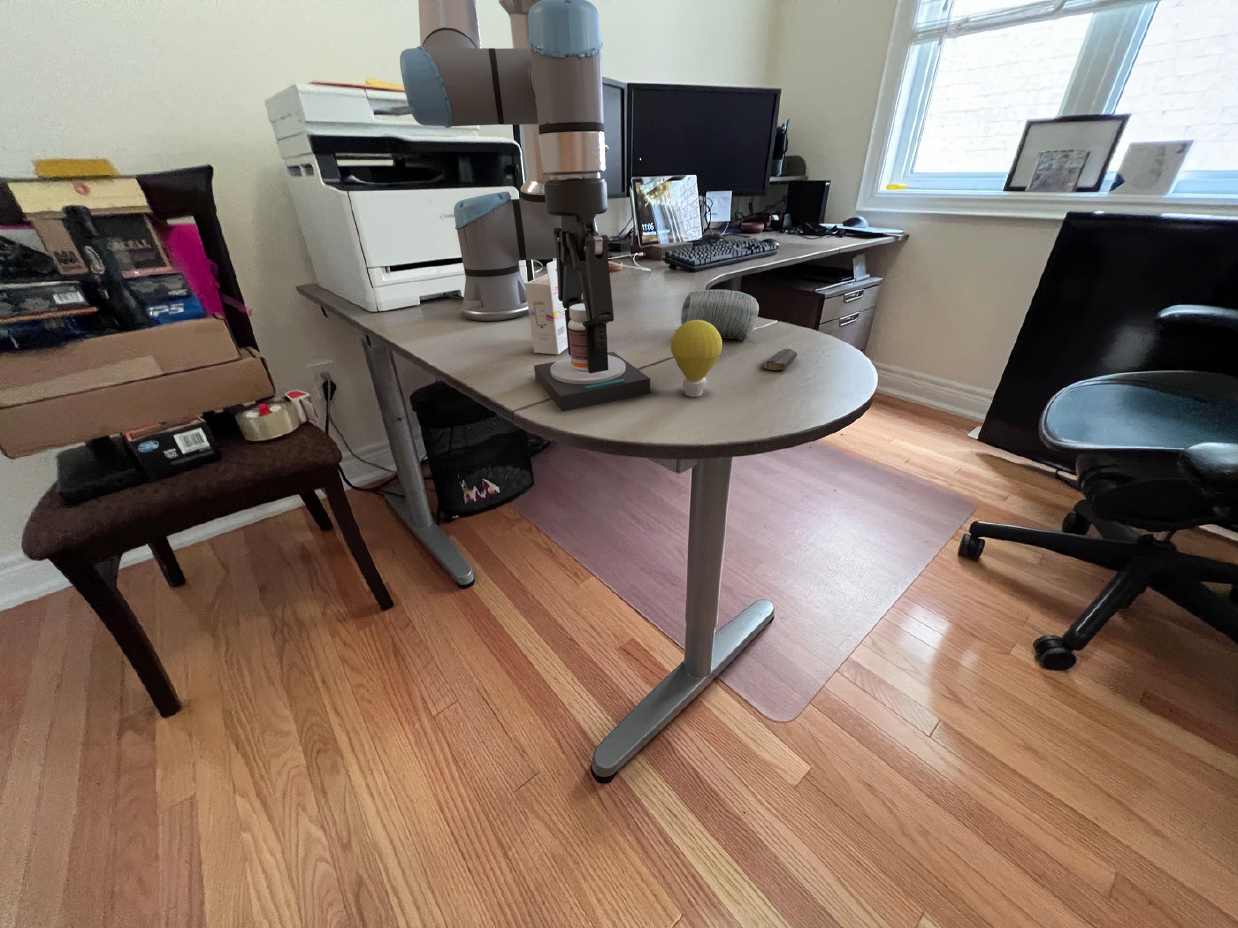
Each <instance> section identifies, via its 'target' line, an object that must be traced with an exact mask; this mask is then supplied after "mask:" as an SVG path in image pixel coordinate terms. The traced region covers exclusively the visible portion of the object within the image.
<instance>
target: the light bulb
mask: <svg viewBox="0 0 1238 928" xmlns="http://www.w3.org/2000/svg"><path fill="white" fill-rule="evenodd" d="M722 349H723V338H722V337H721V336H720V334H719V332H718V331H717V329H716V328H715V327H714V326H713V325H712V324H710V323H708V322H706V321H703V320H692V321H688V322H686V323H684V324H683V325H682V324H681V325H680V326H679V327H678V328H677V329H676V330H675V331H674V334H673V335H672V337H671V341H670V351H671V352H670V353H671V354H672V357H673V358H674V361H675V363H676V366H677V367H678V368H679V370H680V371H681V373H682V374H683V376H684V377H682V381H681V383H682V385H681V386H682V388H684V389H685V390H684V394H685V395H686V396H688V397H692V398H693V397H695V398H697V397H700V396H702V395H703V389H705V388H706V387H707V378H706V377H705V376H706V375H707V374H708V373H709V371H711V369H712V368H713V366H714V365H715V364H716V362H717V360H718V358H719V357H720V355H721V353H722Z"/></svg>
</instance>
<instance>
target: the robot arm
mask: <svg viewBox="0 0 1238 928" xmlns="http://www.w3.org/2000/svg"><path fill="white" fill-rule="evenodd" d="M417 1H418V24H419V45H418V46H417V47H412V48H406V49H404V50H401V52H400V55H399V67H400V73H401V74H400V75H401V79H402V80H401V81H402V84H403V89H404V94H405V97H406V98H405V99H406V100H407V105H408V107H409V111H410V113H411V116H412V117H413V119H414V121H415V122H417V124H419V125H421V126H425V127H426V126H428V127H444V128H446V129H449V128H452V127H473V126H498V125H500V126H512V125H513V126H515V125H518V126H519V125H520V127H521V135H522V143H523V152H524V153H523V154H524V163H525V172H526V180H525V181H524V183H523V184H522V185H521V187H520V197H521V198H512V195H511V194H510V192H509V191H499V192H493V193H487V194H483V195H477V196H474V197H473V196H472V197H469V198H464V199H461V200H458V201H457V202H456V203H455V204H454V207H453V212H454V213H453V215H454V223H455V226H454V228H455V230H456V232H457V238H458V244H459V249H460V254H461V261H462V266H463V273H464V277H465V282H464V290H463V297H462V296H456V295H452V294H451V293H449V294H446V293H444V294H443V293H442V296H447V297H448V298H449V299H451V300H458V301H462V307H461V308H462V313H463V317H465V318H466V319H468V320H473V321H477V322H478V321H479V322H480V321H481V322H496V321H507V320H513V319H517V318H521V317H524V316H526V315H529V311H528V305H527V297H526V291H525V285H524V283H525V282H524V280H523V279H524V278H523V277H522V274H521V268H520V261H534V260H536V261H537V260H551V259H555V260H556V261H557V268H556V272H557V281H558V299H559V301H563V302H562V305H563V307H564V309H566V310H565V320H566V331H567V343H568V348H567V351H568V352H567V353H568V356H569V357H570V356H571V353H570V341H569V331H568V323H569V322H570V320H572V319H571V318H570V309H569V308H570V306H572V305H576V304H584V305H585V310H586V316H587V321H584V322H582V324H583V326H584V327H585V335H586V349H587V364H588V372H589V373H590V374H591V373H596V372H601V371H607V370H608V352H609V351H608V333H607V324H608V323H611V322H614V319H615V316H614V305H613V295H612V294H613V293H612V284H611V274H610V273H611V272H610V262H609V240H610V239H609V236H608V235H607V234H601V235H600V234H599V232H598V228H597V227H598V226H597V221H596V216H597V215H603V214H605V213H606V212H607V211H608V185H607V183H608V182H607V181H606V179H605V178H601V177H602V174H604V173H605V172H606V170H607V169H606V168H607V167H606V153H607V152H608V151H609V145H608V143H606V142H605V124H604V120H605V119H604V118H605V117H604V93H603V91H604V90H603V63H602V62H603V59H602V56H603V55H602V51H603V50H604V49H603V48H604V46H603V45H604V43H603V42H602V38H601V26H600V25H601V24H600V15H599V12H598V9H597V8H596V6H595V5H594V4H593V3H591V2H590V1H588V0H497V1H498V4H499V5H500V7H502V8H503V10H504V11H505V12H506V13H507V15H508V18H509V21H510V22H509V24H510V32H511V42H512V48H510V47H509V48H508V47H507V48H506V47H505V48H504V47H503V48H495V47H485V48H484V47H483V48H482V40H481V32H480V24H479V17H478V8H477V1H476V0H417Z"/></svg>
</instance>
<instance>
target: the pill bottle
mask: <svg viewBox="0 0 1238 928" xmlns="http://www.w3.org/2000/svg"><path fill="white" fill-rule="evenodd" d="M569 309H570V318H571V319H572V320H570V322H569V323H568V331H569V341H570V353H571V364H572V367H573V368H574V369H576V370H580V371H588V364H587V349H586V335H585V327H584V326H583V324H582V322H584V321H587V316H586V310H585V305H584V304H576V305H572V306H570V308H569Z"/></svg>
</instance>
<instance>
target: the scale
mask: <svg viewBox="0 0 1238 928" xmlns="http://www.w3.org/2000/svg"><path fill="white" fill-rule="evenodd" d="M533 369H534V377H535V380H536V382H538V384H539V385H540V386H541V388H543V391H544V392H546V394H547V395H548V396H549V398H551V400H552V401H553V403H555V405H556V406H557V408H559V410H560V411H561V412H566V411H570V410H576V409H579V408H583V407H584V408H586V407H589V406H594V405H595V406H596V405H600V404H604V403H609V402H614V401H618V400H619V401H620V400H623V399H627V398H634V397H638V396H643V395H647V394H651V377H649V376H648V375H646V374H645V373H644V372H642V371H641V370H639V369H638V368H637V367H635V366H634V365H633V364H631V363H630V362H629V361H627V360H626V359H624V358H623V357H622V356H620V355H619V354H618V353H616V352H614V351H608V370H607V371H601V372H596V373H591V374H590V373H589V372H588V371H580V370H576V369H574V368H573V367H572V364H571V356H570V355H569V356H567V357H564V358H561V359H558V360H557V361H551V362H546V363H545V362H544V363H539V364H534V365H533Z"/></svg>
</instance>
